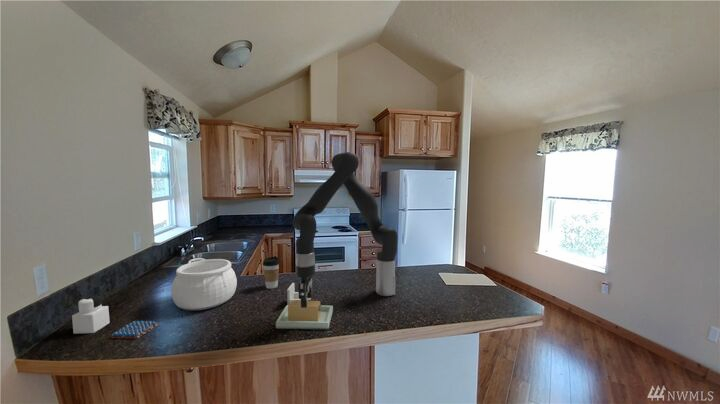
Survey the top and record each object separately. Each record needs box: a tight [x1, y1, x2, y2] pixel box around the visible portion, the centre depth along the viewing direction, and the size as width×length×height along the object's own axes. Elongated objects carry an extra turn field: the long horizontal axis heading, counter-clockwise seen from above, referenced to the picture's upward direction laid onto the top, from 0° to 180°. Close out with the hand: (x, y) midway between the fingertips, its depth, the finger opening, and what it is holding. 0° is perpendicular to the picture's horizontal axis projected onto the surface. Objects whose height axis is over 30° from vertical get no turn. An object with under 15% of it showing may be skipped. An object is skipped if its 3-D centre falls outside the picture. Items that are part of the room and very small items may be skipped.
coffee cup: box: [262, 256, 280, 290], centre depth 142 cm, size 8×8×15 cm
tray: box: [275, 304, 334, 330], centre depth 108 cm, size 20×14×2 cm
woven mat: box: [110, 320, 159, 340], centre depth 100 cm, size 10×11×2 cm
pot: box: [170, 257, 238, 311], centre depth 125 cm, size 29×26×17 cm
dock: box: [286, 282, 312, 305], centre depth 122 cm, size 9×8×8 cm
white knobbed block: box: [71, 295, 110, 335], centre depth 101 cm, size 7×7×12 cm
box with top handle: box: [287, 300, 323, 321], centre depth 108 cm, size 13×5×6 cm, turn 87°
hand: (306, 302), depth 108 cm, fingers open, 8 cm apart
